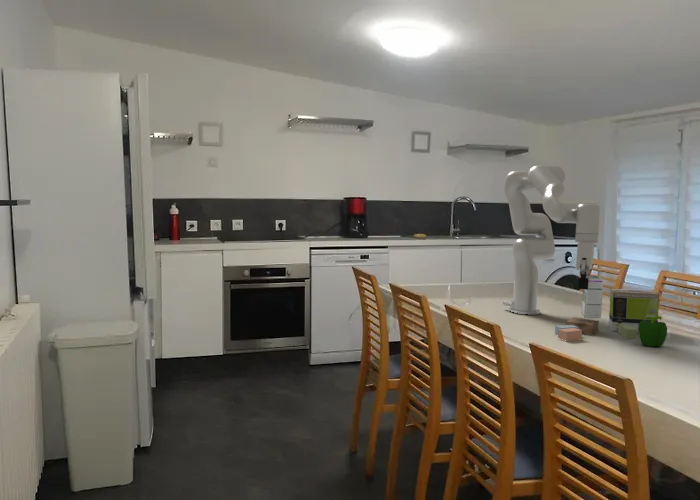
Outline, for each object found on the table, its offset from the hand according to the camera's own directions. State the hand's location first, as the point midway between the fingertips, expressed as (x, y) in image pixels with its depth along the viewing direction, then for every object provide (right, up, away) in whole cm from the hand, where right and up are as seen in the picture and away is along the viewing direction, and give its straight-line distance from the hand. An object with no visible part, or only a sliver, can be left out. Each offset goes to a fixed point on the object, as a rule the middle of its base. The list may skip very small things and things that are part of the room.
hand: (584, 287), depth 203 cm
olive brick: (+13, -17, -7) cm, 22 cm away
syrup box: (+3, -11, +1) cm, 11 cm away
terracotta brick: (-10, -17, -12) cm, 23 cm away
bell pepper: (+14, -18, -19) cm, 30 cm away
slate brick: (-9, -17, -7) cm, 20 cm away
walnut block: (0, -16, +1) cm, 16 cm away
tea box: (+19, -16, +3) cm, 25 cm away
